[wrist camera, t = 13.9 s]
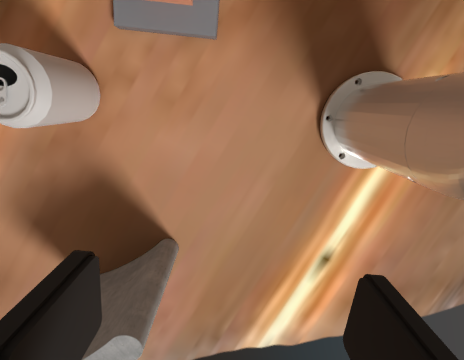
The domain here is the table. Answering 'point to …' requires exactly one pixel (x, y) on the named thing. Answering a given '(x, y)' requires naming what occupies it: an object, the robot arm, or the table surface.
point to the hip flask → (131, 303)
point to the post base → (168, 17)
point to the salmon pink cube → (176, 1)
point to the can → (43, 89)
